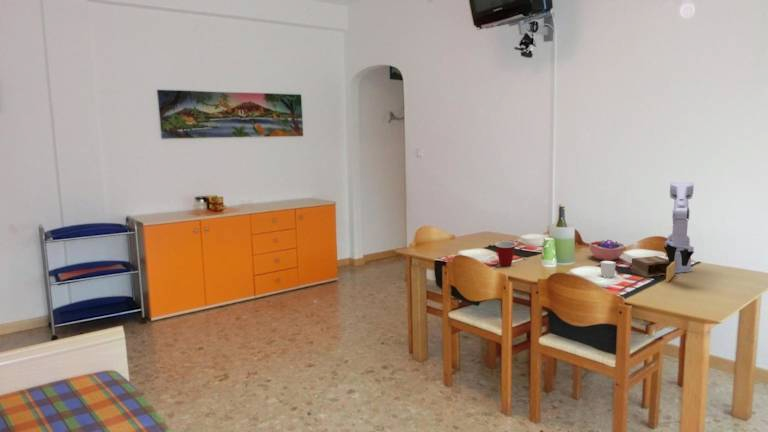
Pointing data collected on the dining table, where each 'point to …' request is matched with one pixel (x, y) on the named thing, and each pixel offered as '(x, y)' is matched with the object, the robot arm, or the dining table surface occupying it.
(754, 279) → the dining table surface
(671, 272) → the cabinet door
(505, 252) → the plastic cup
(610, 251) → the cell model
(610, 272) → the white short cylinder
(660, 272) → the cabinet
